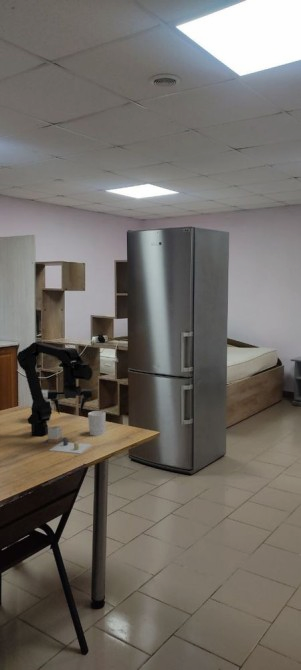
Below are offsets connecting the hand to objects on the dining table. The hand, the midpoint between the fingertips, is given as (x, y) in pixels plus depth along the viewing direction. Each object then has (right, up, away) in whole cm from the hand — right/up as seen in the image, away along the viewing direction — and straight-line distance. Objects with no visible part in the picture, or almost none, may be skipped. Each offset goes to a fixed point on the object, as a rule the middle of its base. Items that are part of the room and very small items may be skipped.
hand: (69, 413), depth 218 cm
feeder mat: (-7, -13, +1) cm, 14 cm away
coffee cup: (-19, -10, +36) cm, 42 cm away
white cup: (+11, -12, +11) cm, 19 cm away
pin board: (+2, -13, -10) cm, 17 cm away
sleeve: (-6, -12, 0) cm, 14 cm away
